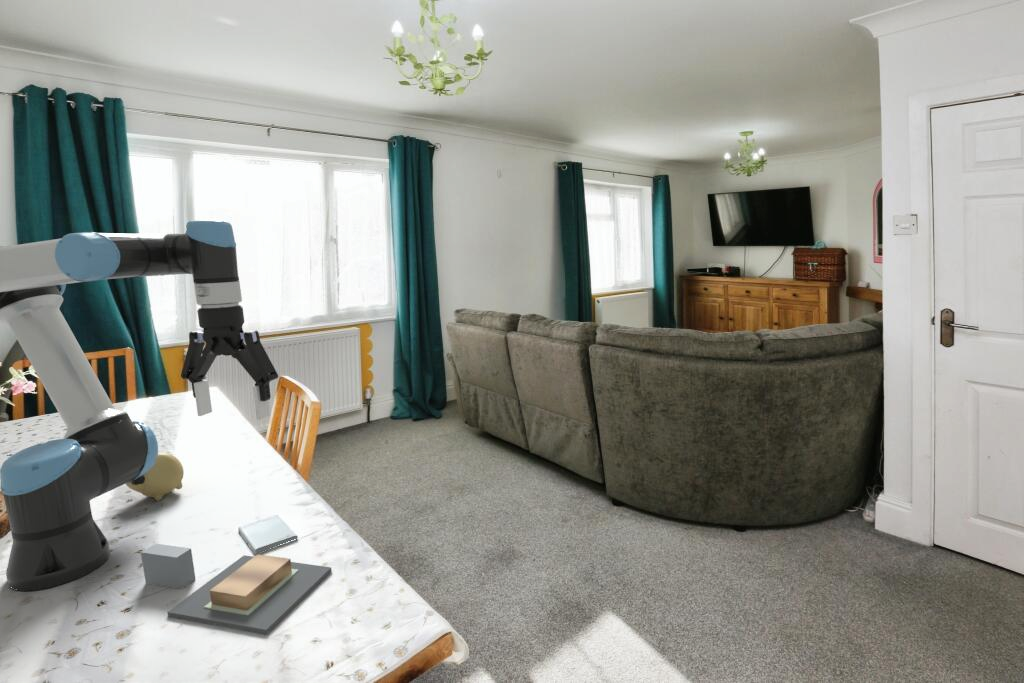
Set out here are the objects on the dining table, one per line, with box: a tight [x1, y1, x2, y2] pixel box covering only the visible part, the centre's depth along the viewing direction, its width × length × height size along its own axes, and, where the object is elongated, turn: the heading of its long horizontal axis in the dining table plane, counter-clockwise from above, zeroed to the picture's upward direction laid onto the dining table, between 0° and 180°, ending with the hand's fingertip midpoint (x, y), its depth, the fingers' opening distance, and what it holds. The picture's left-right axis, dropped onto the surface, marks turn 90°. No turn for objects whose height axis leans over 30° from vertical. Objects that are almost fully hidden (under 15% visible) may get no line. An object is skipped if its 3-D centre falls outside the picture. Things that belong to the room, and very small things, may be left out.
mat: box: [167, 554, 332, 635], centre depth 95 cm, size 19×17×1 cm
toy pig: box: [125, 452, 184, 502], centre depth 134 cm, size 10×12×11 cm
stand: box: [140, 543, 196, 590], centre depth 99 cm, size 8×3×6 cm, turn 74°
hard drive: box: [237, 514, 299, 556], centre depth 114 cm, size 2×8×12 cm
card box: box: [210, 553, 292, 610], centre depth 95 cm, size 11×7×2 cm, turn 164°
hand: (233, 415), depth 107 cm, fingers open, 13 cm apart
